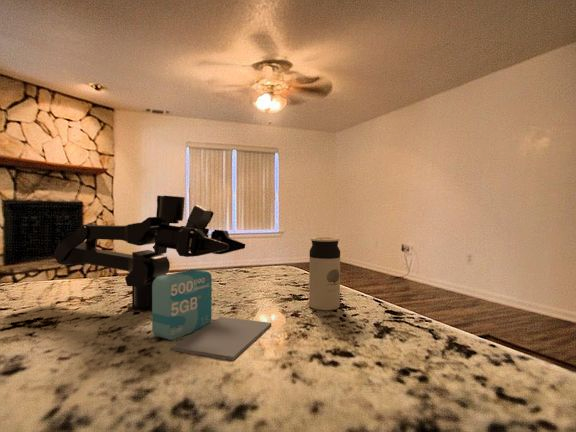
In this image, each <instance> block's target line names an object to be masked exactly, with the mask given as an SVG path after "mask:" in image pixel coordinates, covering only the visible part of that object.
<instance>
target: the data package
mask: <svg viewBox="0 0 576 432" xmlns="http://www.w3.org/2000/svg"><path fill="white" fill-rule="evenodd" d="M212 279H213V278H212V274H211V272H210V271H205V270H201V269H200V270H198V269H190V270H183V271H180V272H173V273H170V274H169V273H167V274H166V275H163V276H159V277H157V278H156V279H155V280H154V281H153V284H152V310H151V311H152V313H151V315H152V320H151V322H152V326H151V329H152V334H153V335H154V336H156V337H158V338H162V339H165V340H168V341H174V340H176V339H179V338H181V337H183V336H187V335H190V334H191V333H192V334H193V333H194V332H196V331H198V330H199V329H201V328H203V327H204V326H206V325H208V324H209V323H211V322H212V310H213V309H212V301H213V299H212V293H213V292H212V291H213V290H212V288H213V287H212V286H213V285H212V284H213V283H212Z"/></svg>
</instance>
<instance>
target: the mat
mask: <svg viewBox="0 0 576 432" xmlns="http://www.w3.org/2000/svg"><path fill="white" fill-rule="evenodd" d="M270 327H272V322H267V321H258V320H252V319H251V320H250V319H244V318H243V319H242V318H234V317H226V316H219V317H218V318H216V319H214V320H213V321H211V322H210V323H209V324H208V325H206V326H204V327H203V328H201V329H199V330H197V331H194V332H192V334H191V333H190V334H189V335H188V336H185V337H184V338H183V339H182V340H179V341H178V342H177V343H175V344H173V345H172V346H170V351H174V352H178V353H179V352H180V353H186V354H192V355H198V356H202V357H203V356H204V357H210V358H215V359H224V360H229V361H234V360H236V359H237V358H238V357H239V356H240V355H241V354H242V353H243V352H244V351H246V349H247V348H248V347H250V346H251V345H252V344H253V343H254V342H255V341H256V340H257V339H259V338H260V337H261V336H262V335H263V334H264V333H265V332H266V331H267V330H268V329H269V328H270Z"/></svg>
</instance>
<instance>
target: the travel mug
mask: <svg viewBox="0 0 576 432" xmlns="http://www.w3.org/2000/svg"><path fill="white" fill-rule="evenodd" d="M310 240H311V247H310V249H309V265H308V266H309V273H308V275H309V279H308V281H309V283H308V285H309V287H308V288H309V289H308V290H309V291H308V292H309V294H308V298H309V299H308V306H309V307H310V308H311V309H314V310H317V311H323V312H324V311H329V312H330V311H334V310H337V309H339V308H340V307H341V301H340V300H341V250H340V248H339V246H338V244H339V241H341V240H340V238H338V237H333V236H332V237H330V236H329V237H328V236H316V237H314V236H313V237H311V238H310Z"/></svg>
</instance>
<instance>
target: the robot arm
mask: <svg viewBox="0 0 576 432" xmlns="http://www.w3.org/2000/svg"><path fill="white" fill-rule="evenodd" d="M156 196H157V197H156V215H155V216H149V217H147V218H146V219H144V220H143V221H141V222H136V223H130V224H126V225H109V224H97V223H94V224H93V223H91V224H89V223H88V224H81V225H79V227H78V228H77V229H76V230H75V231H74V232H73V233H71V234H69V236H66V237H65V238H64V239H63V240H61V242H60V243H59V244H58V245H57V246H56V247H55V250H54V252H53V257H54V260H56V263H57V264H59V265H60V266H71V265H73V266H74V265H83V264H87V265H90V266H91V265H92V266H99V267H101V268H102V267H103V268H108V269H114V270H119V271H123V272H124V271H126V272H128V274H127V275H126V276H125V279H124V280H125V284H126V287H131V293H132V294H131V297H132V299H131V303H132V305H131V304H130V305H129V306H127V309H128V310H132V311H133V310H134V311H142V312H150V311H152V284H153V281H154V280H155V279H156V278H157V277H159V276H163V275H168V274H169V273H168V272H169V271H170V266H171V265H170V263H171V262H170V261H169V258H168V256H167V255H165V254H167V252H168V249H172V250H175V251H176V253H177V254H178V255H179V257H185V258H189V257H191V258H193V257H194V258H195V257H201V256H205V255H209V254H213V255H226V254H228V253H229V254H230V253H233V252H236V251H237V252H238V251H239V250H244V249H245V248H246V244H245V243H244V242H242V241H238V240H236V239H233V238H232V237H230V235H229V232H228V230H225V229H214V230H213V231H211V233H210V237H209V235H208V234H209V232H210V229H209V228H207V227H208V226H209V224H210V223H211V221H212V219H213V216H214V212H213V210H212V209H209V208H207V207H205V206H204V205H194V206H193V208H192V209H191V212H190V214H189V215H188V218H187V221H186V224H185V225H180V226H178V225H171V224H180V223H179V222H182V221H183V220H184V211H185V201H186V197H185V196H178V195H177V196H175V195H156ZM98 240H108V241H109V240H111V241H124V242H126V243H127V244H130V245H134V246H139V247H142V246H146V245H152V244H153V246H152V249H153V250H152V249H145V250H140V251H139V250H137V251H133V252H132V253H131V254H129V253H125V252H124V253H123V252H117V251H111V250H106V249H105V250H104V249H99V248H97V246H98Z"/></svg>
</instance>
